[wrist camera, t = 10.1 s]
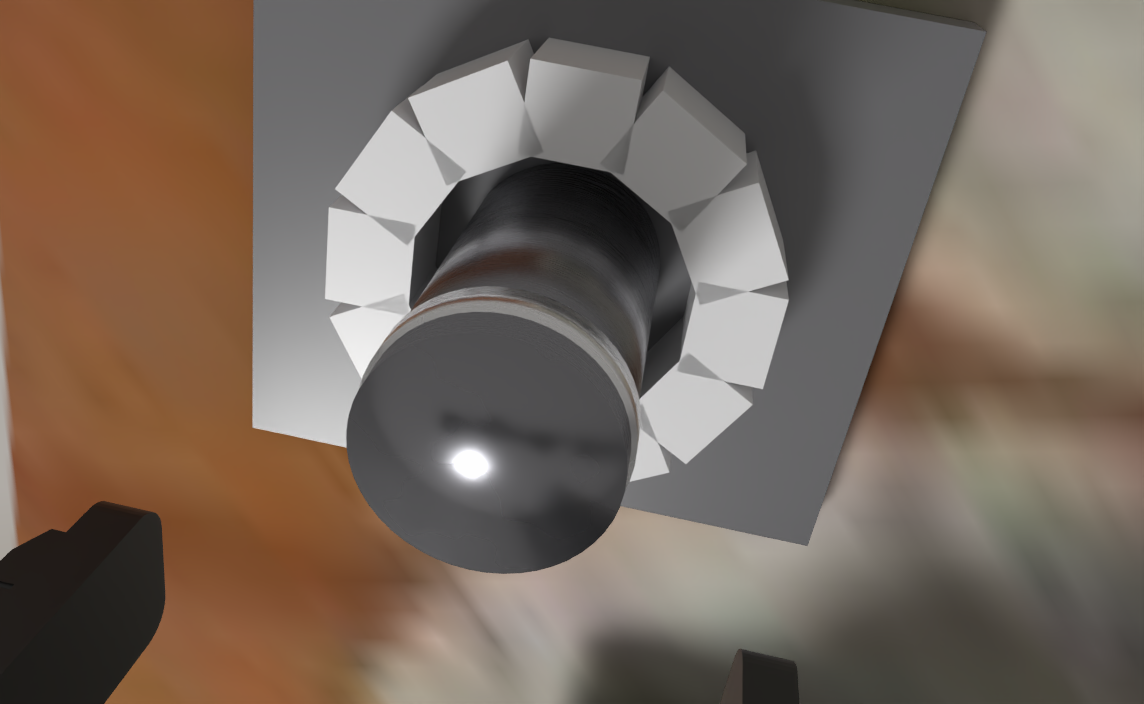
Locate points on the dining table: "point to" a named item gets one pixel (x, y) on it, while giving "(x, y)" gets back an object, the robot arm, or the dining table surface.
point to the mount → (640, 163)
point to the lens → (515, 378)
